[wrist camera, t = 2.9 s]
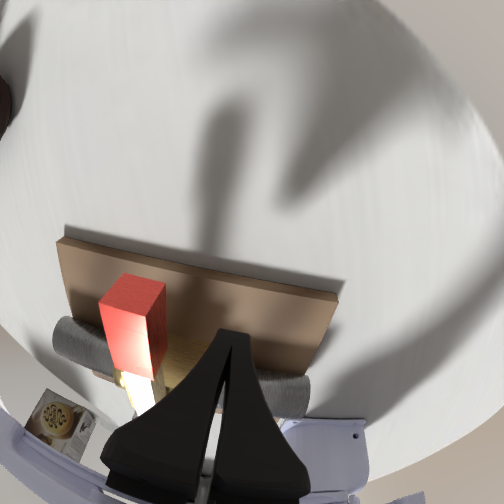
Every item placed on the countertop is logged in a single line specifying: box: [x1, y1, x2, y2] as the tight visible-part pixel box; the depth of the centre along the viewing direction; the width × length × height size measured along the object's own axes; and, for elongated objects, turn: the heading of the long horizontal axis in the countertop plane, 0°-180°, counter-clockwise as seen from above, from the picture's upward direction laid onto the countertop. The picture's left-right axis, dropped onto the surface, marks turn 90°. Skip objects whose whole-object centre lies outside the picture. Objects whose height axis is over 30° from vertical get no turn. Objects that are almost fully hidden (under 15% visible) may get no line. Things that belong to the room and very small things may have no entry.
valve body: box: [52, 316, 310, 420], centre depth 18 cm, size 20×5×5 cm, turn 80°
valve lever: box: [98, 273, 168, 420], centre depth 12 cm, size 12×3×3 cm, turn 170°
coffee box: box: [24, 389, 96, 463], centre depth 25 cm, size 9×6×16 cm
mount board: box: [56, 237, 339, 422], centre depth 20 cm, size 20×16×1 cm
